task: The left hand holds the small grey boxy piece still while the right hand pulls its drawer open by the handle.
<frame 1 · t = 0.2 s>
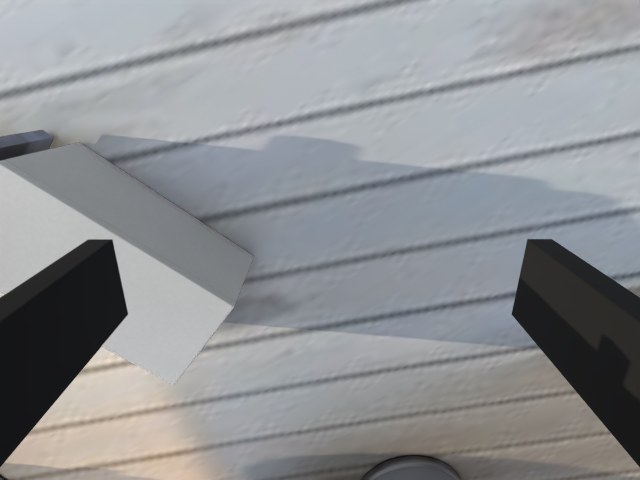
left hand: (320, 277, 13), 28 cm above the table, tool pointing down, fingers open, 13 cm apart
grey boxy piece: (148, 239, 42), on the table
drawer: (59, 221, 36), point 5 cm above the table, slide at 1.7 cm
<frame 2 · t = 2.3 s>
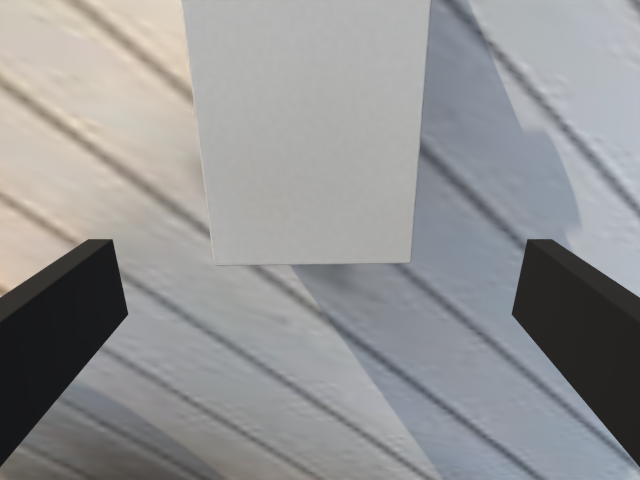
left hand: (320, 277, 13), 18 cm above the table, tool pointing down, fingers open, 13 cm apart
grey boxy piece: (311, 64, 27), on the table
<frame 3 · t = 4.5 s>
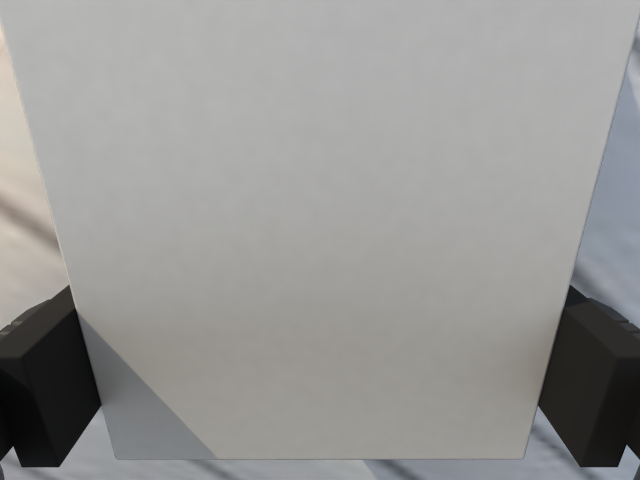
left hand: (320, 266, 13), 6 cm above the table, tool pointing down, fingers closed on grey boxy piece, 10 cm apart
grey boxy piece: (319, 51, 16), on the table, touching left hand
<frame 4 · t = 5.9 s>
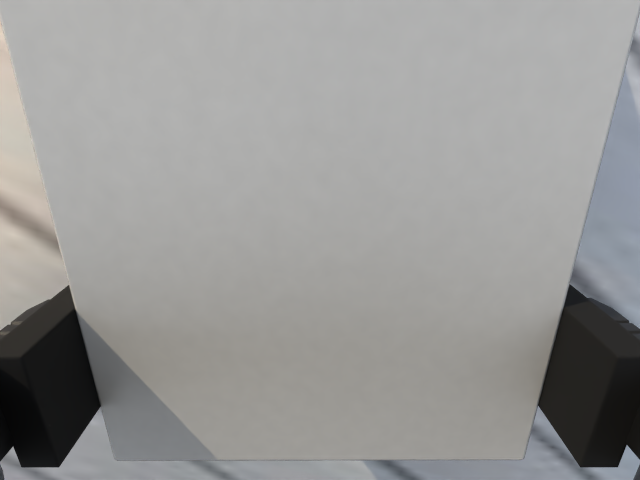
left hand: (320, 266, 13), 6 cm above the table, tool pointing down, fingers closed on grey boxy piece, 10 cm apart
grey boxy piece: (319, 53, 16), on the table, touching left hand
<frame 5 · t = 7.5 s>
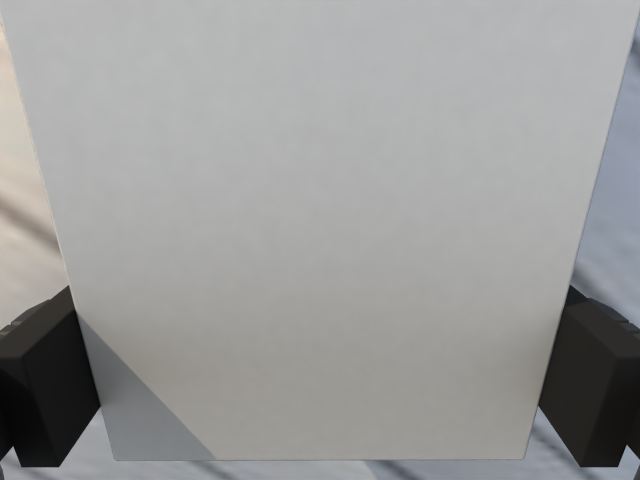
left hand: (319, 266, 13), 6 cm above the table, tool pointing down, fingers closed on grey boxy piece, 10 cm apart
grey boxy piece: (319, 53, 16), on the table, touching left hand
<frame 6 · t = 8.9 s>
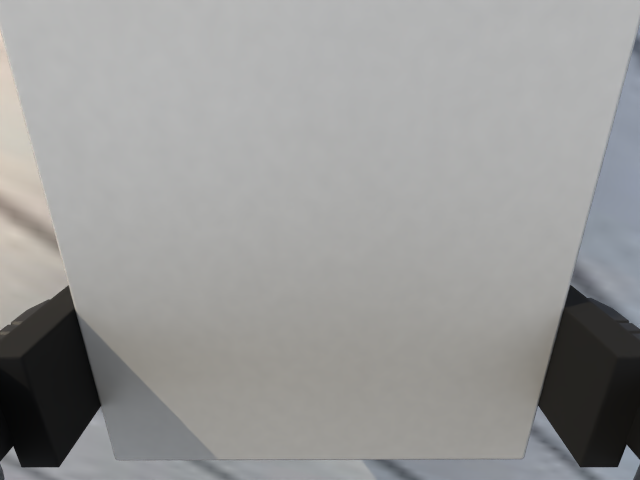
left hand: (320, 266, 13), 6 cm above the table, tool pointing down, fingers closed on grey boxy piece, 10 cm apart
grey boxy piece: (319, 50, 16), on the table, touching left hand
when the left hand's fingers open (6 cm above the table, at t = 9.4 s): grey boxy piece stays where it is, on the table.
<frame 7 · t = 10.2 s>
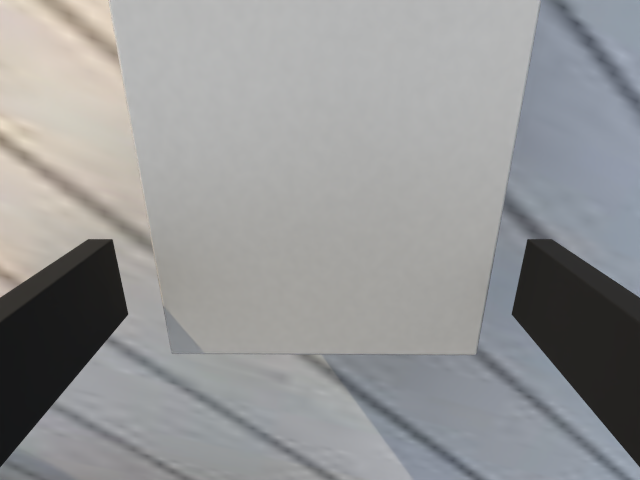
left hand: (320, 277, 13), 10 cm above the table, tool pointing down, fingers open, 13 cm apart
grey boxy piece: (323, 47, 19), on the table
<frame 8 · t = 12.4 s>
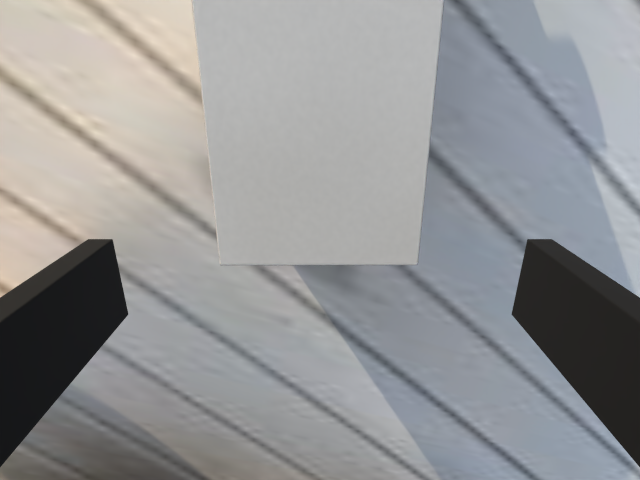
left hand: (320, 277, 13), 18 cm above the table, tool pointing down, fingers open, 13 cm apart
grey boxy piece: (318, 63, 27), on the table
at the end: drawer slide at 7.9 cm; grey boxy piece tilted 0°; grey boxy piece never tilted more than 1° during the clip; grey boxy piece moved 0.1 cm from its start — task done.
